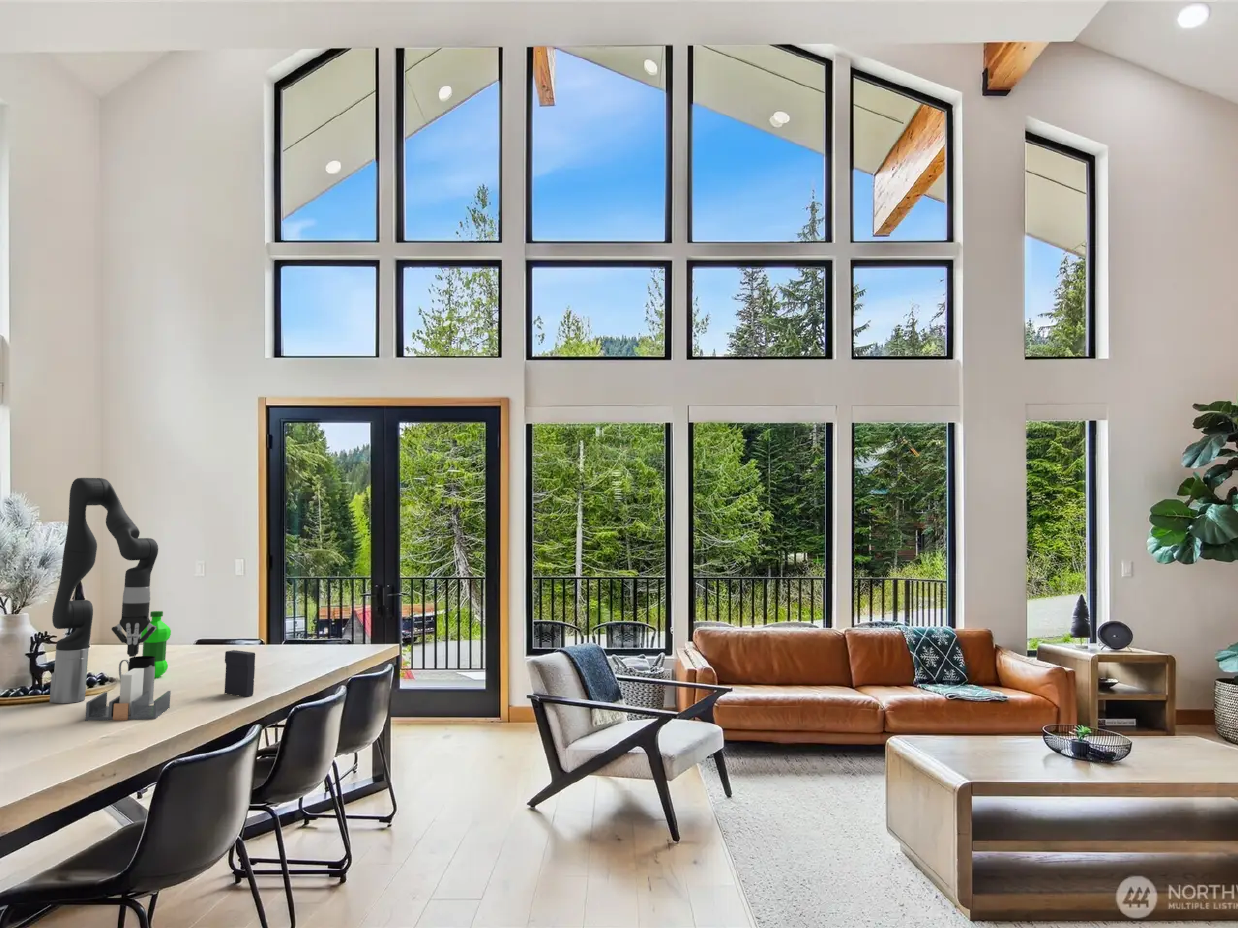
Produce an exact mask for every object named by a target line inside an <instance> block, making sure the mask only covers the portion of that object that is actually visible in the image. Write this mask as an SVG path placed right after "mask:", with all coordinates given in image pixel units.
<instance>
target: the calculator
mask: <svg viewBox="0 0 1238 928" xmlns="http://www.w3.org/2000/svg"><path fill="white" fill-rule="evenodd" d="M224 663H225V677H224V694H225V693H227V694H226V695H230V694H232V695H231V696H236V695H239V696H238V697H242V696H245V697H244V698H247V696H248V697H252V696H253V695H254V693H255V692H254V689H255V688H254V687H255V673H256V672H255V671H256V666H255V664H256V653H255V652H252V651H243V650H238V649H236V650H235V649H233V650H226V651H225V652H224Z"/></svg>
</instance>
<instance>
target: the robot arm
mask: <svg viewBox="0 0 1238 928" xmlns="http://www.w3.org/2000/svg"><path fill="white" fill-rule="evenodd" d="M68 505H69V507H68V520H67V521H68V522H67V527H66V528H67V529H66V535H65V536H66V537H65V542H64V548H63V555H62V562H61V570H60V571H61V572H60V579H59V584H58V587H57V591H56V595H55V596H56V598H55V600H54V601H55V602H54V604H53V605H54V606H53V608H52V609H53V611H52V625H53V627H54V628H55V629H57V630H63V629H64V630H66V629H75V630H74V632H72V633H71V634H69V635H68V636H65V637H63V638H61V639H59V640H57V642H56V643H55V659H54V668H53V669H54V671H53V672H52V673H51V677H50V690H49V691H50V693H49V703H53V704H71V703H78V702H82V701H84V700H85V699H86V694H87V693H86V692H87V691H86V690H87V677H88V676H87V675H88V664H89V663H88V660H89V649H90V648H89V647H90V646H89V645H90V640H91V634H92V623H93V617H94V608H93V604H92V602H91V601H90V600H88V599H76V600H71V599H72V595H73V593H74V591H75V589H76V588H77V586H78V585H79V584H80V582H81V581H82V580H83V579H84V578H85V577H86V576H87V574H88V573H90V571H91V570H92V568H93V567H94V565H95V563H96V559H97V558H96V557H97V551H98V542H97V540H96V537H95V535H94V533H93V532H92V530H91V529H90V527H89V525H88V522H87V507H88V506H102V507H103V508H104V509H105V510H106V511H107V514H106V516H105V524H106V528H107V530H108V531H109V533H110V534H111V536H112V537H114V539H115V540H116V543H117V547H118V551H119V553H120V556H121V557H122V558H123V559H125V560H127V561H138V562H137V565H136V566H134V567H130V568H127V570H125V576H124V588H123V593H122V604H121V619H120V620H119V623H118V624H117V625H115V626H112V627H111V631H112V632H113V634H115V636H116V637H117V639H118V640H119V641H120V642H121V643H123V644H126V645H127V648H126V649H127V650H126V651H127V652H126V654H127V655H128V657H130V658H131V657H137V655H138V654H139V653H140V651H139V648H140V644H142V643H143V642H145V641H146V640H147V639H148V638H149V637H150V635H151V634H152V633H153V632H154V631H155V630H156V629H157V627H156V626H153V625H152V624H151V623H150V621H151V619H150V605H151V604H150V603H151V591H150V590H151V588H150V587H151V586H150V585H151V575H152V574H151V573H152V571H153V568H154V565H155V562H156V560H157V557H158V553H159V546H158V543H157V541H156V540H155V539H153V538H149V537H140V530H139V527H138V526H137V525H136V524H135V523H134V521H133V520H132V519H131V518H130V517H129V515H128V514H127V513H126V511H125V509H124V506H123V505H122V503H121V501H120V499H119V496H118V494H117V492H116V491H115V489H114V487H113V486H112V484H111V482H110V481H109V480H107V479H106V478H102V477H101V478H100V477H77V478H75V479H74V480H73V482H72V483H71V486H70V490H69V501H68ZM139 537H140V538H139ZM147 626H148V628H147V633H146V634H145V635H144V636H143V637H142V638H141V639H140V637H141V634H142V632H143V631H144V630H145V628H146V627H147ZM122 630H124V632H125V633H126V635H125V633H124V632H123V631H122Z"/></svg>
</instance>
